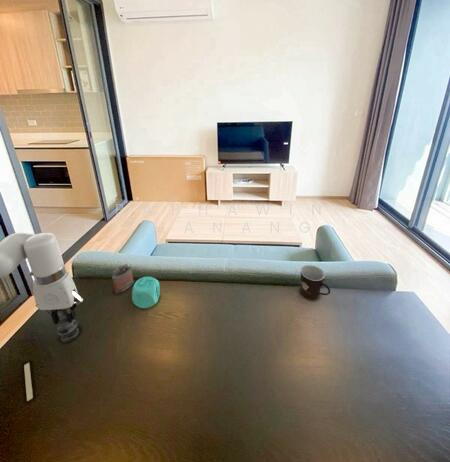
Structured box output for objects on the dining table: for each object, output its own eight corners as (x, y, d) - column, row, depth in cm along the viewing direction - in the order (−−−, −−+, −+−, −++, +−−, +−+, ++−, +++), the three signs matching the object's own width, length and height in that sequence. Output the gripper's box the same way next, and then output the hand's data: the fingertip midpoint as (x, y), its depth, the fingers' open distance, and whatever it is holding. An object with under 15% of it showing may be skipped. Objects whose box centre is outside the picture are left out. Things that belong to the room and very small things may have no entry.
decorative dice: (155, 308, 90) (152, 291, 87) (133, 308, 90) (130, 291, 87) (160, 292, 97) (158, 276, 94) (140, 292, 97) (138, 276, 95)
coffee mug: (294, 286, 99) (297, 266, 96) (315, 284, 100) (318, 264, 97) (307, 309, 88) (310, 287, 85) (329, 307, 89) (333, 285, 86)
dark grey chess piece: (77, 323, 84) (69, 296, 80) (82, 334, 80) (74, 306, 76) (57, 334, 80) (47, 306, 76) (62, 346, 76) (52, 318, 72)
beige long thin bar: (24, 365, 71) (24, 365, 71) (29, 362, 72) (29, 362, 72) (27, 401, 63) (27, 401, 63) (32, 397, 63) (32, 397, 63)
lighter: (130, 279, 104) (127, 260, 101) (135, 282, 102) (132, 263, 99) (113, 291, 98) (108, 271, 95) (118, 294, 96) (113, 274, 93)
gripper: (11, 284, 68) (30, 332, 74) (73, 280, 69) (87, 328, 75) (29, 267, 75) (45, 312, 81) (85, 263, 76) (97, 308, 82)
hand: (65, 319), depth 78 cm, fingers closed on dark grey chess piece, 3 cm apart
